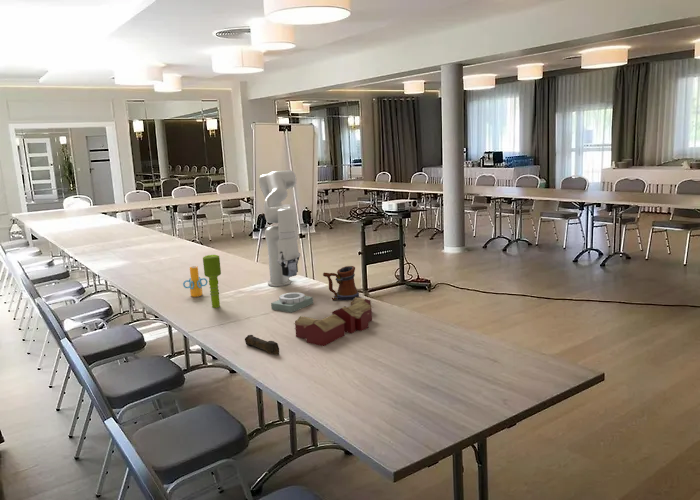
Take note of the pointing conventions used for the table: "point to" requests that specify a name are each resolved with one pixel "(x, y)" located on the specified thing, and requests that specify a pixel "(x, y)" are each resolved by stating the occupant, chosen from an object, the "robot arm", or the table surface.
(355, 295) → the mug
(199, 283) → the cylinder
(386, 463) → the table surface
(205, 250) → the table surface
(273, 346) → the brown elongated bar
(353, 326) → the toy houses
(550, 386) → the table surface
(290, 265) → the hub
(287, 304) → the block
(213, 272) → the microphone
